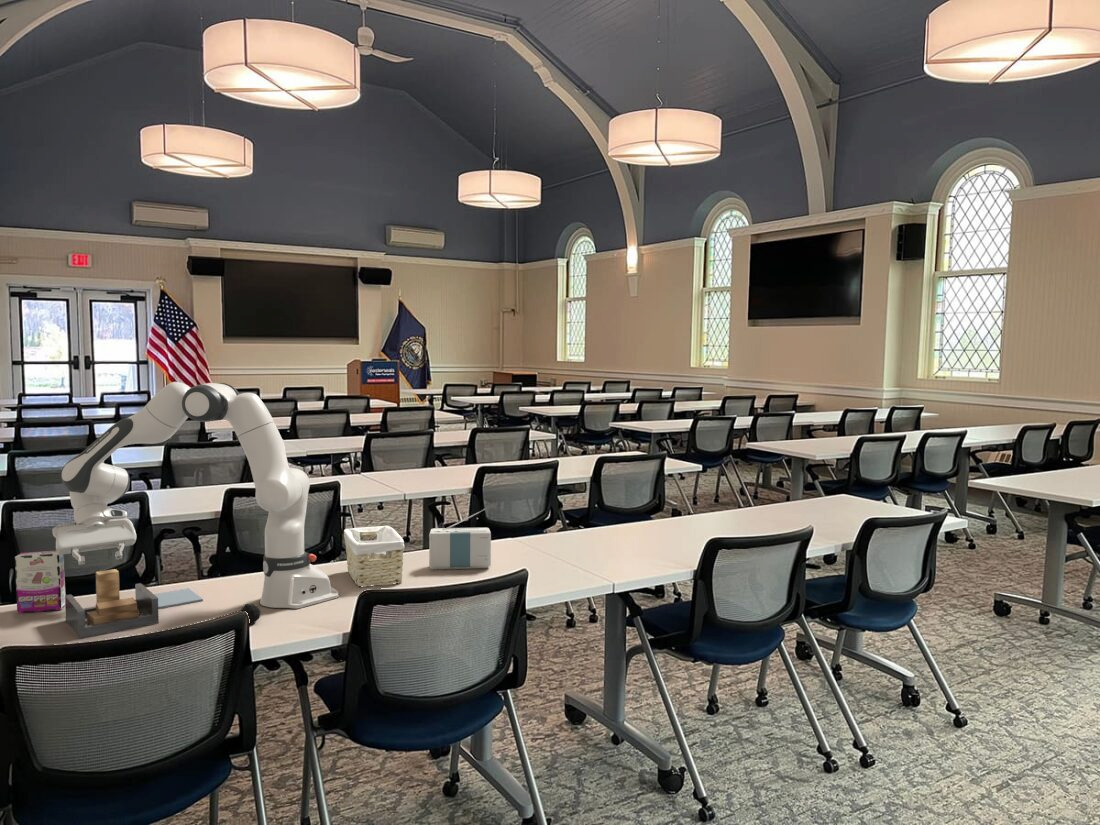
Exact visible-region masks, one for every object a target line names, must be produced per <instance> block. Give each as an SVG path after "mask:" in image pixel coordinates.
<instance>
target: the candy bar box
mask: <svg viewBox="0 0 1100 825" xmlns="http://www.w3.org/2000/svg"><path fill="white" fill-rule="evenodd" d="M64 556H65V554H63V555H60V554H58V553H57V552H56V550H48V551H47V550H46V551H32V552H31V551H30V552H20V553H18V554H17V555H16V556H14V569H15V570H14V571H15V588H16V592H15V593H16V609H17V610H16V611H17V614H27V613H28V614H29V613H39V612H40V613H41V612H53V611H61V610H63V609H65V595H66V582H65V581H66V578H65V577H66V576H65V559H64V558H65V557H64Z"/></svg>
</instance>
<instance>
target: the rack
mask: <svg viewBox="0 0 1100 825" xmlns="http://www.w3.org/2000/svg"><path fill="white" fill-rule="evenodd" d="M134 586H135V588H134V589H135V599H134V600H135V601H136V602H137V609H139V614H140V615H141V616H138V617H132V618H127V619H121V620H116V621H111V622H105V623H100V624H94V625H89V626H87V625H86V620H87V612H92V611H96V605H95V606H91V607H85V608H84V607H82V605H81V604H80V603H79V601H78V600H76V598H75V597H74V595H72V594H65V607H64V609H65V621H66V623H67V624H68V625H69V627H70V628H71V629H72V631H73V632H74V634H75V635H76V637H77V638H78V639H79V640H80V639H85V638H90V637H96V636H99V635H106V634H110V633H111V634H112V633H115V632H120V631H126V630H132V629H136V628H142V627H146V626H153V625H157V624H159V622H160V621H159V617H160V616H159V609H158V598H157V597H156V596H155V595H154V594H155V593H153V592H152V591H150V590H149V589H148V588H147V587H146V586H145V585H144V584H142V583H140V582H139V583H135V585H134Z"/></svg>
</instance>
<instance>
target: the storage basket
mask: <svg viewBox="0 0 1100 825" xmlns="http://www.w3.org/2000/svg"><path fill="white" fill-rule="evenodd" d="M374 535H376V539H373V540H362V539H361V537H362V536H374ZM343 538H344V544H345V552H346V564H347V565H346V566H347V571H348V573H349V575H350V577H351V579H352V580H353V581H354V583H355V584H356V586H357V587H358V586H363V587H362V588H367V587H366V586H371V585H382V586H389V584H390V585H392V584H393V583H398V584H401V583H402V582H403V569H404V568H403V565H404V561H403V560H404V549H405V541H404V539H403V538H402V536H401V535H400V534H399V533H398V531H396V530H395V528H393V527H391V526H389V525H381V526H380V525H379V526H378V525H377V526H366V527H365V526H363V527H362V526H361V527H354V528H345V529H344V530H343Z"/></svg>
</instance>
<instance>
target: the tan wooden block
mask: <svg viewBox="0 0 1100 825" xmlns="http://www.w3.org/2000/svg"><path fill="white" fill-rule="evenodd" d="M95 595H96V598H95V599H96V603H101V602H107V601H114V600H120V599H121V598H120V572H119V570H117V568H116V569H115V568H114V569H113V568H112V569H107V570H106V569H105V570H101V571H96V572H95Z"/></svg>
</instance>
